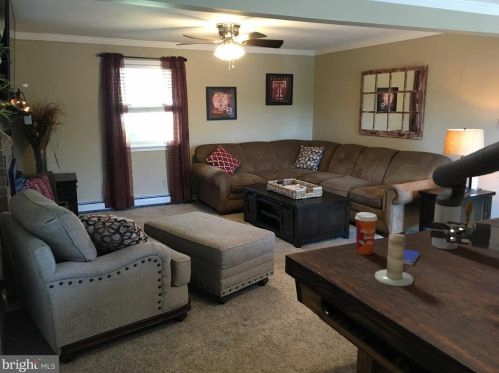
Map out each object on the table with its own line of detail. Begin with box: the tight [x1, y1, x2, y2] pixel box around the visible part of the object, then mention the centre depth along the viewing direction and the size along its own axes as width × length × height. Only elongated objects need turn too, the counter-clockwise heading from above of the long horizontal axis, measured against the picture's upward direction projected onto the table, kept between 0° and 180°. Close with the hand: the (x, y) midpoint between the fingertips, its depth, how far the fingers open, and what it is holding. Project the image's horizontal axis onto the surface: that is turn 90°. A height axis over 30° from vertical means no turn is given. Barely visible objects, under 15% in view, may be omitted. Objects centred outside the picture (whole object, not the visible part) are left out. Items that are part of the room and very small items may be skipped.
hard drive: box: [403, 249, 421, 266], centre depth 156 cm, size 2×8×12 cm
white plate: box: [374, 269, 414, 287], centre depth 138 cm, size 12×12×1 cm
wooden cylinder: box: [386, 233, 406, 280], centre depth 136 cm, size 5×5×14 cm
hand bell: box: [464, 200, 473, 228], centre depth 177 cm, size 8×8×16 cm
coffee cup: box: [354, 211, 378, 256], centre depth 160 cm, size 8×8×15 cm
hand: (430, 229), depth 130 cm, fingers open, 8 cm apart
